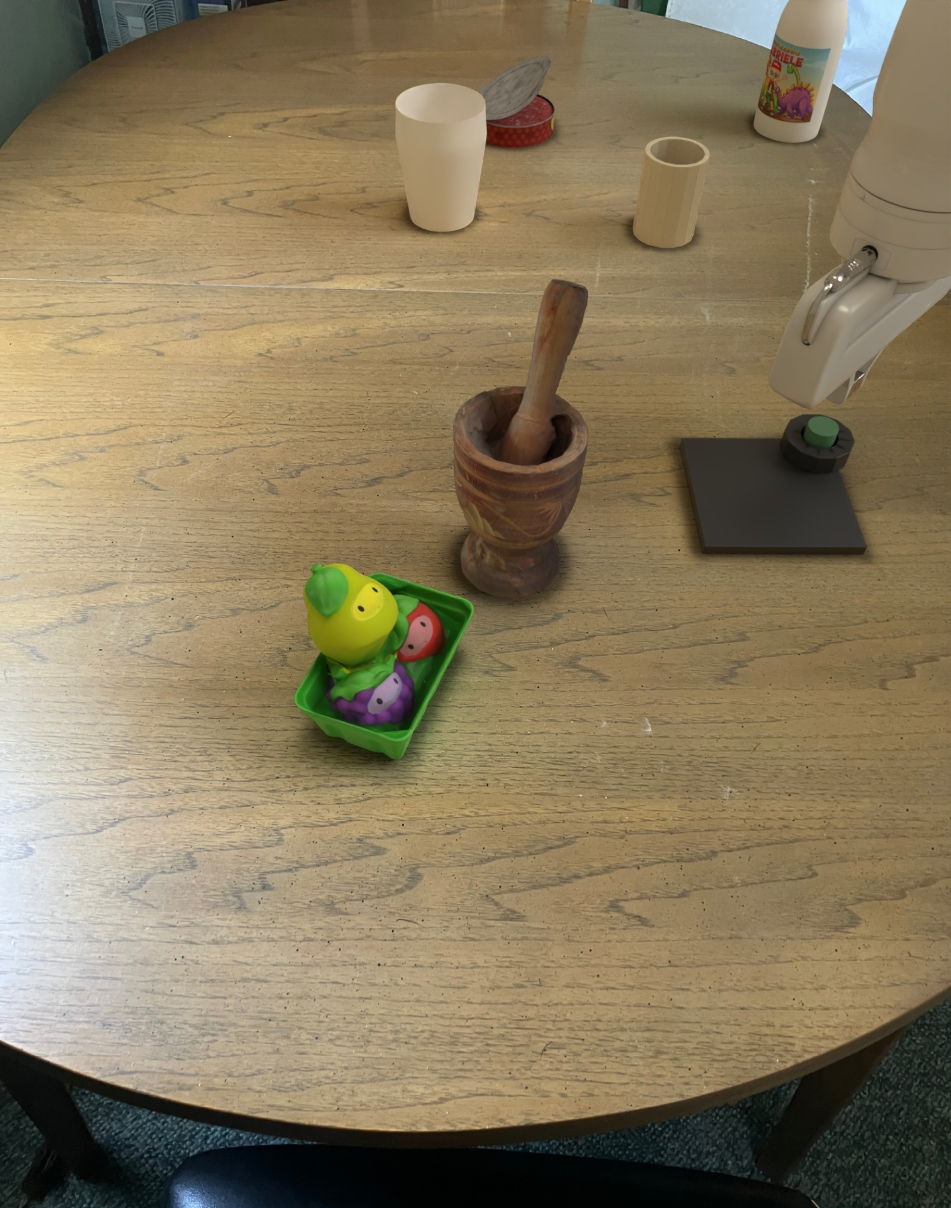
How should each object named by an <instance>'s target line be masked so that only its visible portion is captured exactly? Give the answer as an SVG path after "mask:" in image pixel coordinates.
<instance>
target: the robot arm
mask: <svg viewBox="0 0 951 1208" xmlns="http://www.w3.org/2000/svg"><path fill="white" fill-rule="evenodd" d="M894 27H895V28H894V30H893V33H892V35H891V38H890V40H889V44H888V46H887V49H886V51H885V52H886V53H885V55H884V58H883V61H882V63H881V67H880V70H879V73H878V76H877V80H876V83H875V86H874V89H873V93H872V111H871V118H870V124H869V127H868V129H867V132H866V133H865V136H864V138H863V140H862V141H861V142H860V144H859V146H858V147H857V149H856V151H855V152H854V154H853V157H852V159H851V162H850V165H849V168H848V171H847V175H846V178H845V181H844V184H843V187H842V191H841V193H840V197H839V200H838V203H837V207H836V209H835V212H834V215H833V219H832V222H831V226H830V227H829V241H830V243H831V246H832V247H833V249H834V250H835V252H836V253H837V254H838V255H839V256H840V263H839V264H837V265H836V266H835V267H833V268H832V269H831V270H830V271H828V272H827V273H826V274H824V275H823V276H822V277H820V278H819V279H818V280H816V281H815V282H813V284H812V285H810V286H809V287H808V288H807V289H806V291H805V292H803V294H802V296H801V297H800V298H799V300H798V302H797V303H796V305H795V307H794V310H793V311H792V313H791V314H790V318H789V320H788V322H787V324H786V327H785V330H784V332H783V335H782V337H781V340H780V343H779V345H778V348H777V351H776V353H775V356H774V359H773V362H772V365H771V368H770V370H769V374H768V378H767V379H768V381H767V382H768V384H769V387H770V389H771V391H772V392H774V393H775V394H777V395H778V396H781V397H782V398H783V399H786V400H787V401H789V402H791V403H794V404H795V405H796V406H799V407H802V408H804V409H808V410H812V409H814V408H816V407H817V406H818V405H819V404H821V403H822V402H823V401H824V400H825V399H826V400H828V401H830V402H832V403H834V404H835V405H842V404H844V403H845V402H846V401H847V400H848V399H850V397H851V396H852V395H853V394H855V393H856V392H857V391H858V390H860V389H861V388H862V387H863V386H864V384H865V381H866V380H867V376H868V375H869V371H870V370H871V369H872V368H873V366H874V364H875V363H876V361H877V360H878V358H879V357H880V355H881V354H882V352H884V350H885V348H886V347H887V346H889V344H890V343H892V342H893V341H894V340H895V339H896V338H897V337H898V336H900V335H901V334H902V333H903V332H904V331H906V330H907V329H908V328H910V326H911V325H912V324H914V323H915V322H916V321H917V320H919V318H921V317H922V316H923V315H924V314H925V313H926V312H928V311H929V310H930V309H931V308H932V307H934V306H935V305H936V304H937V303H938V302H939V301H941V300H942V299H943V298H944V297H945V296H946V295H947V294H948V292H949V291H950V290H951V0H906V1H905V3H904V5H903V8H902V9H901V12H900V15H899V17H898V20H897V22H896V25H895V26H894Z"/></svg>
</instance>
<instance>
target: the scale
mask: <svg viewBox="0 0 951 1208" xmlns="http://www.w3.org/2000/svg"><path fill="white" fill-rule="evenodd" d="M817 416H822V417H827V418H830V419H832V420H833V421H835V422H836V423H837V424H838V426H839V431H838V434H837V436H836V439H835V441H834V444H833V445H832V446H831V447H829V448H817V447H814V446H811V445H809V444H808V443H807V442H806V441H804V438H803V435H804V432H805V429H806V426H807V424H808V421H809V420H810V419H811V418H813V417H817ZM855 444H856V441H855V437H854V435H853V433H852V430H851V429H850V428H849V427H847V426H846V425H845V424H844V423H843V422H841V421H840V420H838V419H836V418H833V417H830V416H827V415H825V414H822V413H821V414H819V413H803V414H800V415H798V416H795V417H793V418H790V420H789V421H788V422H787V424H786V426H785V428H784V430H783V433H782V436H781V438H772V437H771V438H770V437H769V438H760V437H759V438H756V437H755V438H754V437H751V438H750V437H749V438H748V437H747V438H746V437H743V438H742V437H741V438H740V437H681V439H680V443H679V448H680V454H681V457H682V463H683V469H684V473H685V476H686V481H687V487H688V490H689V497H690V501H691V505H692V509H693V514H694V520H695V524H696V529H697V533H698V538H699V542H700V548H701V553H702V554H703V555H864V554H865V552H866V550H867V548H868V545H867V543H866V541H865V538H864V536H863V531H862V530H861V526H860V525H859V522H858V519H857V516H856V512H855V511H854V508H853V505H852V502H851V500H850V497H849V494H848V491H847V488H846V485H845V483H844V480H843V477H842V475H841V471H840V470H841V469H843V468H844V467H845V466H846V464H847V462H848V460H849V458H850V456H851V454H852V451H853V448H854V446H855Z"/></svg>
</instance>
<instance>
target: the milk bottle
mask: <svg viewBox="0 0 951 1208" xmlns="http://www.w3.org/2000/svg"><path fill="white" fill-rule="evenodd" d="M848 23H849V8H848V0H788V1H787V2H786V4H785V6H784V8H783V9H782V12H781V14H780V16H779V20H778V22H777V24H776V29H775V32H774V36H773V39H772V43H771V48H770V50H769V51H770V52H769V56H768V60H767V64H766V69H765V72H764V76H763V80H762V83H761V89H760V93H759V98H758V101H757V106H756V111H755V115H754V120H753V128H754V130H755V131H756V132H757V133H758V134H759V135H761V136H763V137H764V138H767V139H770V140H772V141H777V142H780V143H781V142H782V143H789V144H790V143H791V144H792V143H795V144H796V143H797V144H798V143H804V142H808V141H811V140H813V139H815V138H816V137H817V136H818V134H819V131H820V128H821V125H822V122H823V119H824V114H825V111H826V108H827V105H828V101H829V97H830V94H831V92H832V91H831V90H832V87H833V84H834V80H835V76H836V73H837V69H838V66H839V62H840V59H841V55H842V51H843V47H844V44H845V40H846V36H847V31H848Z"/></svg>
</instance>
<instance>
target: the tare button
mask: <svg viewBox="0 0 951 1208" xmlns="http://www.w3.org/2000/svg"><path fill="white" fill-rule="evenodd" d="M830 418H831V417H830ZM830 418H827V417H822V416H817V417H813V418H811V419H810V420H809V421H808V424H807V426H806V429H805V432H804V435H803V438H804V441H806V442H807V443H808V444H809V445H811V446H814V447H817V448H829V447H831V446H832V445H833V444H834V441H835V439H836V436H837V434H838V431H839V426H838V424H837V423H836V422H835V421H833V420H832V419H830Z"/></svg>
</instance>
